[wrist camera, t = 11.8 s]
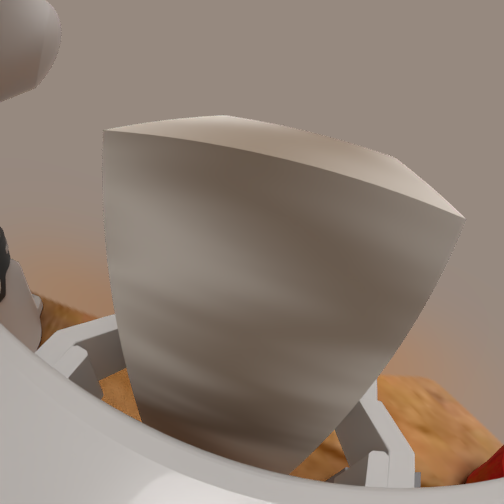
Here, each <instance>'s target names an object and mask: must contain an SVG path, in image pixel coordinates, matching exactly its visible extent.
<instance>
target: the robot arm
mask: <svg viewBox="0 0 504 504" xmlns="http://www.w3.org/2000/svg"><path fill="white" fill-rule="evenodd" d="M60 42H61V24H60V20H59V17H58V14H57V12H56V11H55V9H54V8H53V6H52V5H51V4H50V3H48V2H47V1H46V0H0V102H2V101H5V100H7V99H10V98H12V97H15V96H17V95H20V94H22V93H25V92H27V91H30V90H32V89H34V88H36V87H37V86H38V85H39V84H40V83H41V81H42V80H43V79H44V78H45V76H46V75H47V73H48V72H49V70H50V69H51V67H52V65H53V63H54V61H55V59H56V56H57V54H58V50H59V47H60ZM42 307H43V303H42V301H41V298H40V297H39V296H36V295H34V294H31V291H30V289H29V286H28V284H27V281H26V278H25V276H24V273H23V270H22V268H21V265H20V264H19V262H17V261H15V260H13V259H11V258H10V255H9V251H8V244H7V241H6V238H5V236H4V232H3V230H2V228H1V227H0V504H504V477H503V478H498V479H493V480H488V481H482V482H476V483H469V484H461V485H453V486H441V487H424V488H414V476H415V453H414V452H413V450H412V448H411V447H410V445H409V444H408V442H407V441H406V439H405V437H404V436H403V434H402V433H401V431H400V430H399V428H398V427H397V425H396V423H395V422H394V420H393V419H392V417H391V416H390V414H389V413H388V411H387V410H386V408H385V406H384V405H383V403H382V402H381V401H377V379H376V380H375V381H374V383H373V384H372V385H371V386H370V388H369V389H368V390H367V392H366V393H365V394H364V395H363V397H362V398H361V399H360V400H359V402H358V403H357V404H356V405H355V406H354V408H353V409H352V410H351V411H350V412H349V413H348V415H347V416H346V417H345V418H344V419H343V420H342V421H341V423H340V424H339V425H338V426H337V427H336V428H335V432H336V434H337V437H338V439H339V441H340V444H341V446H342V449H343V451H344V454H345V456H346V459H347V461H348V464H349V466H350V468H348V469H347V470H345V471H344V472H343V473H341V474H340V475H338V476H337V477H335V479H334V483H330V482H323V481H317V480H311V479H305V478H300V477H295V476H290V475H286V474H281V473H277V472H273V471H269V470H265V469H261V468H258V467H254V466H251V465H247V464H244V463H240V462H237V461H234V460H231V459H228V458H225V457H222V456H219V455H216V454H213V453H211V452H208V451H205V450H203V449H200V448H197V447H195V446H192V445H190V444H187V443H185V442H183V441H180V440H178V439H176V438H173V437H171V436H169V435H167V434H164V433H162V432H160V431H158V430H156V429H154V428H152V427H150V426H148V425H146V424H144V423H142V422H140V421H138V420H136V419H134V418H132V417H130V416H128V415H126V414H125V413H123V412H121V411H119V410H117V409H116V408H114V407H112V406H110V405H109V404H107V403H105V402H104V401H102V400H101V399H102V397H103V396H104V395H103V391H102V389H101V386H100V384H99V382H98V381H99V380H101V379H103V378H105V377H108V376H110V375H112V374H114V373H116V372H118V371H120V370H122V369H124V368H126V363H125V359H124V355H123V351H122V346H121V342H120V337H119V332H118V327H117V322H116V316H115V314H113V315H110V316H107V317H103V318H99V319H96V320H93V321H89V322H86V323H82V324H79V325H75V326H72V327H68V328H65V329H61V330H58V331H56V332H55V333H54V334H53V335H52V336H51V337H50V338H49V339H48V340H47V341H46V342H45V343H44V344H43V345H42V346H41V347H40V348H39V349H38V350H37V348H38V346H39V343H40V340H41V332H42V329H41V323H40V314H41V311H42ZM36 350H37V351H36Z"/></svg>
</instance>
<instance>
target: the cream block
mask: <svg viewBox="0 0 504 504" xmlns="http://www.w3.org/2000/svg"><path fill="white" fill-rule="evenodd" d="M102 159H103V160H102V187H103V212H104V229H105V242H106V251H107V262H108V270H109V278H110V285H111V291H112V298H113V305H114V311H115V316H116V322H117V327H118V332H119V337H120V342H121V346H122V351H123V355H124V359H125V363H126V367H127V371H128V375H129V379H130V383H131V387H132V390H133V394H134V397H135V401H136V404H137V407H138V410H139V414H140V417H141V420H142V423H144V424H146V425H148V426H150V427H152V428H154V429H156V430H158V431H160V432H162V433H164V434H167V435H169V436H171V437H173V438H176V439H178V440H180V441H183V442H185V443H187V444H190V445H192V446H195V447H197V448H200V449H203V450H205V451H208V452H211V453H213V454H216V455H219V456H222V457H225V458H228V459H231V460H234V461H237V462H240V463H244V464H247V465H251V466H254V467H258V468H261V469H265V470H269V471H273V472H277V473H281V474H286V475H289V474H290V473H291V472H292V471H293V470H294V469H295V468H296V467H297V466H299V465H300V464H301V463H302V462H303V461H304V460H305V459H306V458H307V457H308V456H309V455H310V454H311V453H312V452H313V451H314V450H315V449H316V448H317V447H318V446H319V445H320V444H321V443H322V442H323V441H324V440H325V439H326V438H327V437H328V436H329V435H330V434H331V432H332V431H333V430H334V429H335V428H336V427H337V426H338V425H339V424H340V423H341V421H342V420H343V419H344V418H345V417H346V416H347V415H348V413H349V412H350V411H351V410H352V409H353V408H354V406H355V405H356V404H357V403H358V402H359V400H360V399H361V398H362V397H363V395H364V394H365V393H366V392H367V390H368V389H369V388H370V386H371V385H372V384H373V383H374V381H375V380H376V379H377V377H378V376H379V375H380V373H381V372H382V371H383V369H384V368H385V366H386V365H387V364H388V362H389V361H390V359H391V358H392V357H393V355H394V354H395V352H396V350H397V349H398V347H399V346H400V345H401V343H402V342H403V340H404V338H405V337H406V336H407V334H408V332H409V331H410V329H411V328H412V326H413V324H414V323H415V321H416V319H417V318H418V316H419V314H420V313H421V311H422V309H423V308H424V306H425V304H426V302H427V301H428V299H429V297H430V295H431V293H432V292H433V289H434V288H435V286H436V284H437V282H438V280H439V278H440V276H441V274H442V272H443V270H444V268H445V266H446V264H447V262H448V260H449V258H450V256H451V254H452V252H453V249H454V247H455V245H456V243H457V241H458V238H459V236H460V234H461V231H462V229H463V226H464V224H465V221H466V219H465V218H464V217H463V216H462V215H461V214H460V213H459V212H458V211H457V210H456V209H455V208H454V207H453V206H452V205H451V204H450V203H449V202H448V201H447V200H445V199H444V198H443V197H442V196H441V195H440V194H439V193H438V192H436V191H435V190H434V189H433V188H432V187H431V186H430V185H428V184H427V183H426V182H425V181H424V180H422V179H421V178H420V177H419V176H418V175H416V174H415V173H414V172H413V171H411V170H410V169H409V168H408V167H406V166H405V165H404V164H403V163H401V162H400V161H399V160H397V159H396V158H395V157H392V156H389V155H386V154H383V153H380V152H377V151H374V150H371V149H368V148H365V147H362V146H359V145H355V144H352V143H349V142H345V141H342V140H338V139H334V138H331V137H327V136H323V135H320V134H316V133H312V132H308V131H303V130H299V129H295V128H291V127H286V126H281V125H276V124H272V123H267V122H262V121H256V120H251V119H245V118H239V117H233V116H226V115H220V116H204V117H192V118H183V119H172V120H163V121H156V122H148V123H141V124H135V125H129V126H123V127H117V128H112V129H107V130H103V156H102Z"/></svg>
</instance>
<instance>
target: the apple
mask: <svg viewBox="0 0 504 504" xmlns="http://www.w3.org/2000/svg"><path fill="white" fill-rule="evenodd" d="M503 477H504V445H503V446H502V447H501V448H500V449H499V450H498V451H497V452H496V453H495V454H494V455H493V456H492V457H491V458H490V459H489V460H488V461H487V462H485V463H484V464H483V465H481V466H480V467H478V468H477V469H475V470H474V471H473V472H472V473H471V474H470V476H469V477H468V478H467V482H466V484H469V483H476V482H482V481H488V480H493V479H498V478H503Z"/></svg>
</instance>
